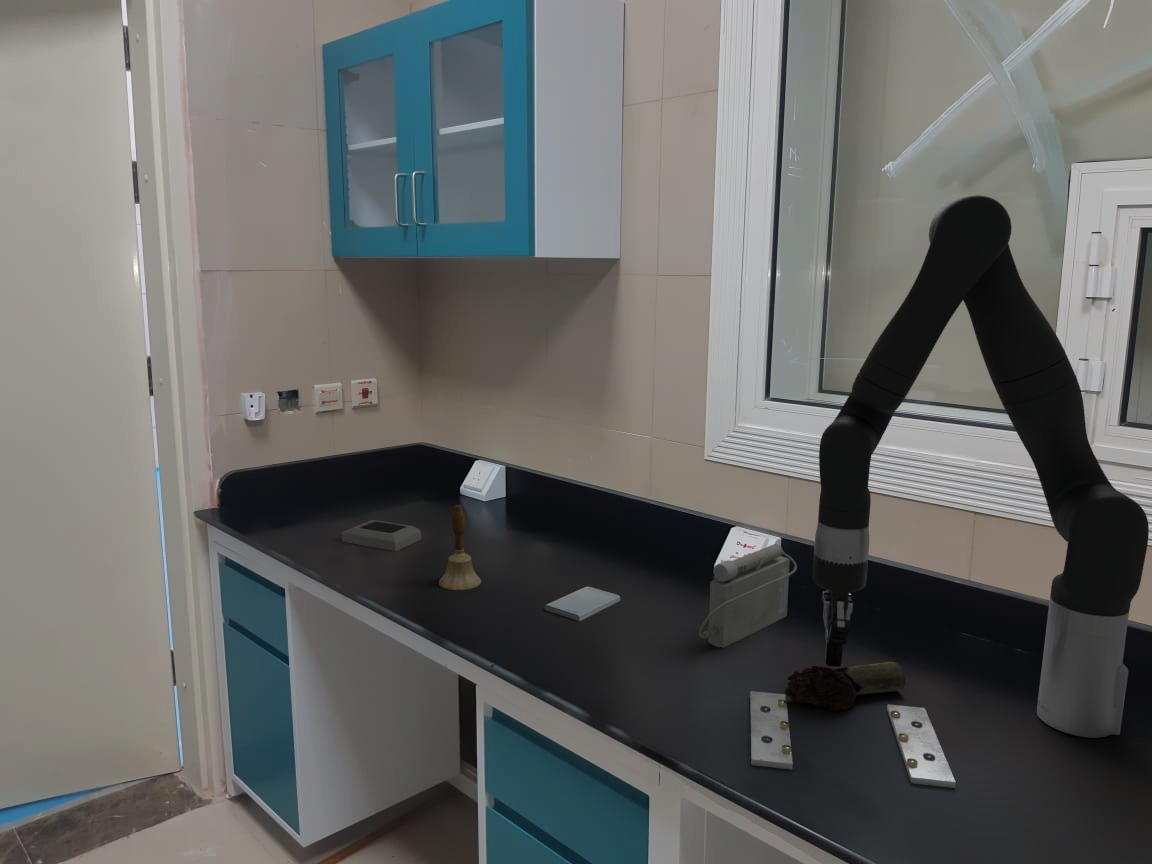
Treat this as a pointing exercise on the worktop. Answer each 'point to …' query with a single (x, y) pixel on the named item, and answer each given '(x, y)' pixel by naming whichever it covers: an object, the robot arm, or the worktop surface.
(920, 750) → the hinge leaves
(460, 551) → the hand bell
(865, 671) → the cylinder with dark lump
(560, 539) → the worktop surface
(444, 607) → the worktop surface
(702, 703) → the worktop surface
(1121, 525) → the robot arm
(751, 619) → the geiger counter
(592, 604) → the hard drive
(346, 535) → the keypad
